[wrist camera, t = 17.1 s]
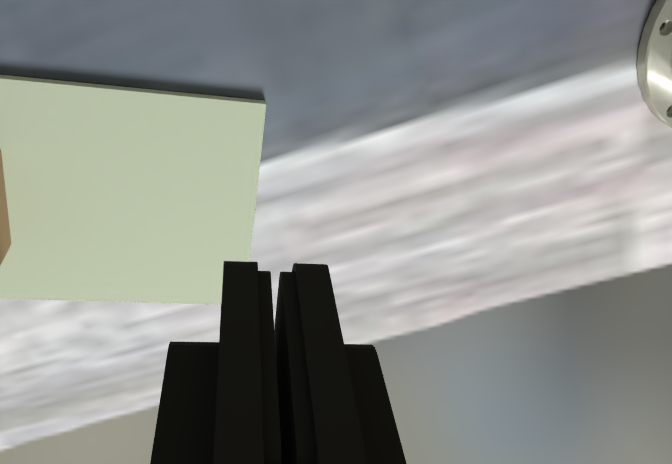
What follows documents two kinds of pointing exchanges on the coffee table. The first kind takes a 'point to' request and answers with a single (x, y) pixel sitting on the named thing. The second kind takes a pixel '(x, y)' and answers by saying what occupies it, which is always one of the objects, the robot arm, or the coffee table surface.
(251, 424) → the robot arm
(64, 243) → the rubber mat
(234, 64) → the coffee table surface
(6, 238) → the walnut cube
